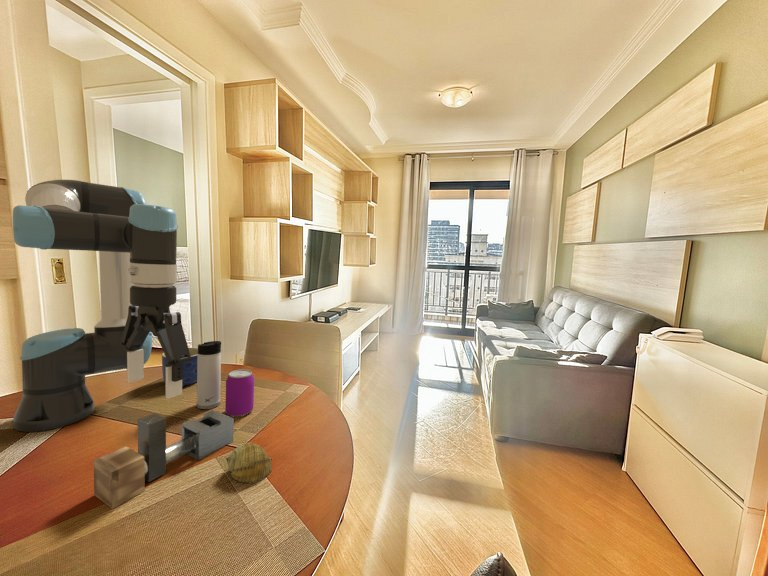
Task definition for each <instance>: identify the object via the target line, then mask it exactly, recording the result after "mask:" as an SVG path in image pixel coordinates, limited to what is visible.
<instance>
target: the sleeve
mask: <svg viewBox="0 0 768 576" xmlns="http://www.w3.org/2000/svg"><path fill="white" fill-rule="evenodd" d="M234 420H235V417H232V416H229V415H228V414H224V413H222V412H219V411H216V410H211V411H210V410H209V411H208V412H206V413H204V414H203V417H201V418H199V419H197V420H196V419H193V418H192V419H189V420H187V421H185V422H183V423H182V424H181V425H182V426H181V434H180V436H181V439H180V440H182V439H184V438H186V437H188V436H190V435H192V434H194V435H196V448H195V449H193V450H192V451H190V452H188V453H186V455H188V456H190V457H191V458H193V459H195V460H197V461H200V460H202V459H204V458H206V457H207V456H209V455H211V454H213V453H214V452H216V451H219V450H220V449H222V448H223V447H226V446H227V445H229V444H231V443H233V442H234V426H235V425H234V423H235V421H234ZM230 442H231V443H230Z"/></svg>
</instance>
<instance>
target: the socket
mask: <svg viewBox="0 0 768 576" xmlns="http://www.w3.org/2000/svg"><path fill="white" fill-rule="evenodd" d="M145 482H146V480H145V467H144V456H142V455H140V454H139V453H138V451H135V450H133V449H132V448H130V447H128V446H124V447H121V448H119V449H116V450H114V451H112V452H109V453H107V454H104V455H103V456H100V457H97V458H96V459H95V458H94V459H93V490H94V491H93V495H94V496H95V497H96V498H98V499H99V501H102V502H103V503H104V504H105V505H107V506H108V507H109V508H111V509H113V510H114V509H115V508H116V507H119V506H120V505H122V504H124V503H126V502H127V501H129V500H131V499H133V498H135V497H136V496H138V495H140V494H141V493H144V492H145Z"/></svg>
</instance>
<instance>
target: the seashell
mask: <svg viewBox="0 0 768 576" xmlns="http://www.w3.org/2000/svg"><path fill="white" fill-rule="evenodd" d="M225 461H226V464H227V469H228V471H230V472H231V473H230V475H231V477H232V479H234V481H236V482H239V483H245V484H246V483H247V484H252V483H257V482H260V481H262V480H264V479H266V478H267V477H268V476H269V475H270V474H271V473H272V467H273V466H272V465H273V464H272V461H273V458H272V457H269V455H268V453H267V452H266V450H265V449H264V447H262V446H261V445H259V444H257V443H252V442H247V443H242V444H239V445H238V446H237V447H236V448H234V450H233V451H232V452H231V453H230V454H229V456H228V457H226V459H225Z"/></svg>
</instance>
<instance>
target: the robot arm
mask: <svg viewBox="0 0 768 576" xmlns="http://www.w3.org/2000/svg"><path fill="white" fill-rule="evenodd" d="M24 201H25V204H26V205H21V204H20V205H16V206H14V207H13V209H12V232H13V241H14V243H15V244H16V246H18V247H22V248H29V249H31V248H32V249H40V250H43V251H44V250H63V251H64V250H69V251H70V250H71V251H89V252H90V251H91V252H92V251H93V252H98V257H99V258H98V259H99V289H100V316H101V317H100V321H99V322H97V323H96V324H95V325H94V328H93V329H94V332H88V333H87V332H86V331H85V330H84V329H83V328H80V327H79V328H78V327H74V328H62V329H56V330H52V331H51V330H50V331H46V332H42V333H38V334H35V335H32V336H30V337H28V338H26V339H25V340H24V341H23V342H22V344H21V352H20V353H21V356H20V357H19V358H20V360H21V375H22V379H21V380H22V381H21V382H22V395H21V396H22V397H21V399H20V402H19V404H18V406H17V408H16V411H15V413H14V416H13V419H12V422H13V423H12V425H13V426H12V427H13V428H14V430H15V431H17V432H27V433H29V432H32V433H34V432H42V431H43V432H44V431H49V430H54V429H57V428H61V427H65V426H68V425H71V424H74V423H77V422H79V421H82V420H83V419H85V418H88V417H89V416H91V415H92V414H93V413H94V412H95V400H94V398H93V396H92V395H91V393H90V391H89V388H88V386H87V385H86V384H87V383H86V376H88V375H96V374H101V373H108V372H112V371H113V372H114V371H120V370H127V373H126V374H127V375H126V377H127V383H130V384H131V383H134V382H137V381H140V380H143V379H145V366H144V365H145V364H146V363H147V362H148V361H149V360H150V357H151V353H152V347H153V336H154V337H156V338H157V340H158V342H159V345H160V346H161V349H162V351H163V352H162V353H164V354H165V356H166V358H167V361H168V363H167V364H166V365H165V366H166V383H165V399H167V400H169V399H172V398H175V397H177V396H180V395H183V386H182V378H183V375H182V374H183V373H182V372H183V363H185V362H189V361H191V356H190V352H189V349H188V348H189V345H188V343H187V338H186V335H185V331H184V328H183V324H182V314H181V312H177V311H176V312H171V311H170V310H171V308H170V307H171V306H172V305H175V304H176V303H177V287H176V286H175V284H177V283H178V281H177V279H178V278H177V275H178V274H177V271H178V270H177V266H178V265H177V245H178V242H177V241H178V240H177V239H178V236H177V234H178V231H177V230H178V229H179V228H178V227H179V226H178V221H177V213H176V211H175V210H174V209H172V208H169V207H165V206H159V205H152V204H147V202H146V199H145V197H144V195H143V194H142V193H141V192H140V191H138V190H134V189H130V188H126V187H121V186H113V185H106V184H101V183H94V182H88V181H87V182H86V181H82V180H77V179H52V180H46V181H43V182H38V183H36V184H34V185H32V186H31V187H30V188H29V189H28V190H27V191H26V194H25V199H24Z"/></svg>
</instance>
